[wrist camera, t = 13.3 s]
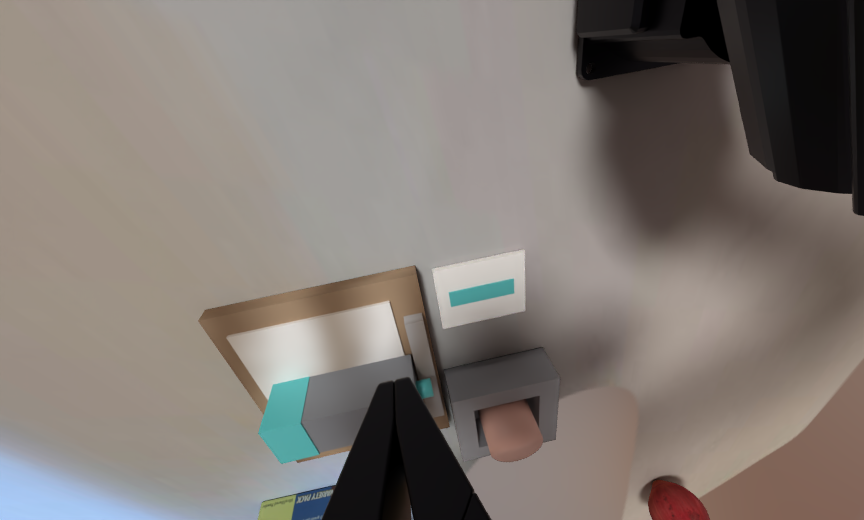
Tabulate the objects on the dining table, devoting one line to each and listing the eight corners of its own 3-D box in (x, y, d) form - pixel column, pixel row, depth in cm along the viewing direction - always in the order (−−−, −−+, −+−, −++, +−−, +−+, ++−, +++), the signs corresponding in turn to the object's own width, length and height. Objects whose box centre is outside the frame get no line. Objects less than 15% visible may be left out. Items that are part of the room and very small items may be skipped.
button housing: (542, 347, 27) (560, 377, 24) (540, 408, 31) (555, 439, 29) (444, 369, 27) (451, 403, 24) (455, 428, 31) (463, 461, 28)
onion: (640, 472, 41) (692, 554, 35) (684, 463, 42) (744, 542, 35) (629, 495, 44) (675, 575, 38) (670, 487, 45) (722, 564, 38)
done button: (522, 378, 27) (543, 424, 24) (523, 408, 29) (542, 454, 26) (473, 389, 27) (488, 437, 24) (478, 418, 29) (491, 466, 26)
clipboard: (414, 265, 21) (418, 281, 20) (447, 416, 30) (451, 436, 28) (205, 309, 21) (191, 330, 19) (299, 450, 29) (295, 472, 28)
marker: (424, 350, 24) (432, 393, 21) (432, 382, 25) (440, 426, 22) (273, 384, 23) (258, 433, 20) (292, 415, 25) (281, 463, 22)
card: (523, 249, 22) (525, 252, 22) (523, 308, 25) (525, 311, 24) (431, 268, 22) (432, 272, 21) (442, 326, 24) (443, 330, 24)
